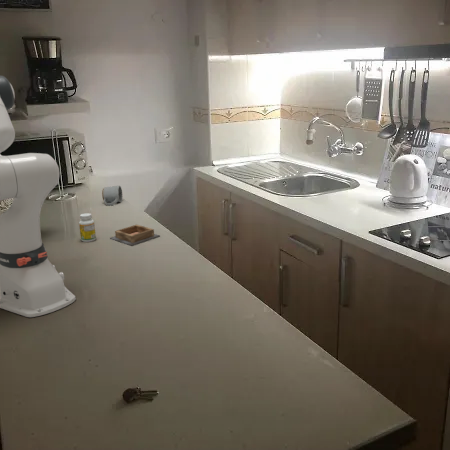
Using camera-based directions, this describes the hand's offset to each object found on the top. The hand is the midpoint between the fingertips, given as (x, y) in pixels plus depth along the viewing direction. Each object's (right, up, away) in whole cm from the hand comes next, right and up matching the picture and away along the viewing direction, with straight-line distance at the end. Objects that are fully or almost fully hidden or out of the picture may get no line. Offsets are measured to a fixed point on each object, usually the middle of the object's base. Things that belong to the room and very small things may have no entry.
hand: (50, 185), depth 185 cm
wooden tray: (+30, -19, +5) cm, 35 cm away
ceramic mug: (+10, -4, +55) cm, 56 cm away
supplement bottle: (+13, -20, +4) cm, 24 cm away
